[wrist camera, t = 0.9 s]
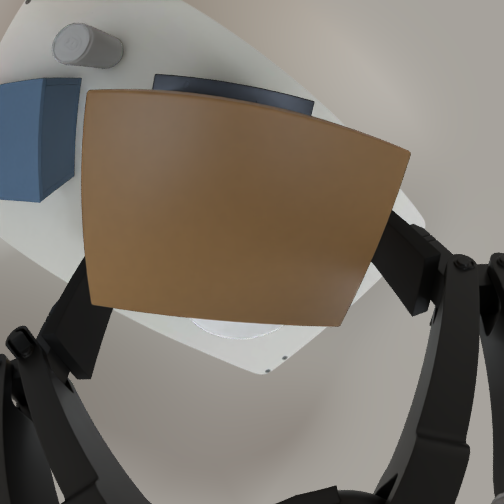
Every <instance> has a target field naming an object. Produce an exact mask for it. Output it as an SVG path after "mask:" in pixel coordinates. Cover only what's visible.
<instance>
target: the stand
mask: <svg viewBox="0 0 504 504" xmlns="http://www.w3.org/2000/svg"><path fill="white" fill-rule="evenodd" d="M152 90H168V91H179V92H189V93H197V94H205V95H212V96H219V97H225V98H231V99H237V100H243V101H248V102H254V103H259V104H263V105H268V106H273V107H277V108H282V109H286V110H290V111H294V112H298V113H302V114H305V115H309V116H311V114H312V110H313V106H314V101H311V100H308V99H304V98H300V97H296V96H292V95H288V94H284V93H280V92H276V91H271V90H267V89H262V88H257V87H252V86H247V85H242V84H236V83H230V82H224V81H218V80H211V79H203V78H195V77H186V76H176V75H164V74H155V77H154V82H153V88H152Z"/></svg>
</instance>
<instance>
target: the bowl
mask: <svg viewBox="0 0 504 504" xmlns="http://www.w3.org/2000/svg"><path fill="white" fill-rule="evenodd" d="M189 319H190V320H191V321H192V322H193V323H194V324H195V325H197V326H198V327H200V328H201V329H202V330H204V331H206V332H208V333H210V334H213V335H216V336H219V337H223V338H229V339H250V338H256V337H260V336H263V335H267V334H269V333H272V332H274V331H276V330H278V329H280V328H281V327H283V326H284V325H275V324H258V323H243V322H229V321H217V320H206V319H196V318H189Z"/></svg>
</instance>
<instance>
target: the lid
mask: <svg viewBox="0 0 504 504" xmlns="http://www.w3.org/2000/svg"><path fill="white" fill-rule="evenodd" d="M45 85H46V78H39V79H31V80H24V81H18V82H12V83H6V84H1V85H0V200H14V201H27V202H39V203H40V202H41V201H42V200H43V196H42V177H41V134H42V115H43V103H44V93H45Z"/></svg>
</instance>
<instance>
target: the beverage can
mask: <svg viewBox="0 0 504 504" xmlns="http://www.w3.org/2000/svg"><path fill="white" fill-rule="evenodd" d="M52 53H53V56H54V58H55V59H56V60H57V61H58V62H60V63H62V64H64V65H74V66H86V67H94V68H102V69H105V68H110V67H113V66H114V65H116V64H117V63H118V62H119V60H120V59H121V57H122V54H123V46H122V44H121V42H120V40H119V39H117V38H115V37H113V36H111V35H109V34H107V33H105V32H103V31H101V30H98V29H96V28H94V27H92V26H89V25H87V24H84V23H73V24H69V25H67V26H66V27H64V28H63V29H62V30H61V31H60V32H59V33H58V34H57V35H56V37H55V39H54V42H53V45H52Z"/></svg>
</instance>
